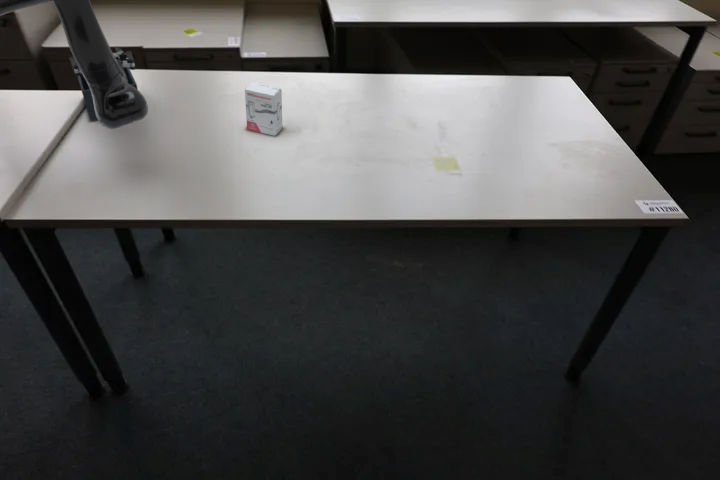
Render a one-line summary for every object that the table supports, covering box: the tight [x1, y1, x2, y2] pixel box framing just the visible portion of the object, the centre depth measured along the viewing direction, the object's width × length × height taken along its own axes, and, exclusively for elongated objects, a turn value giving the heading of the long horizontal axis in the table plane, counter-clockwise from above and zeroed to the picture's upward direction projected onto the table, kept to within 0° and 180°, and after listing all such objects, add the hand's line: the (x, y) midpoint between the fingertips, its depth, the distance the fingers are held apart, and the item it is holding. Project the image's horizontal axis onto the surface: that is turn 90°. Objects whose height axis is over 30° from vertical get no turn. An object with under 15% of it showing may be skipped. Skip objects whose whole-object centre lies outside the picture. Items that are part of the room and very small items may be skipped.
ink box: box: [244, 81, 283, 137], centre depth 136 cm, size 9×5×12 cm, turn 73°
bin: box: [77, 67, 139, 122], centre depth 140 cm, size 13×13×8 cm
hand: (99, 52), depth 132 cm, fingers open, 8 cm apart
